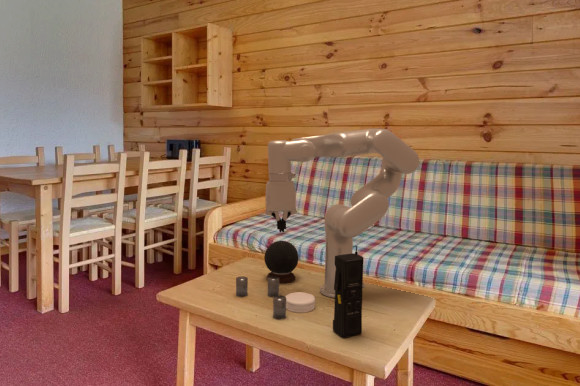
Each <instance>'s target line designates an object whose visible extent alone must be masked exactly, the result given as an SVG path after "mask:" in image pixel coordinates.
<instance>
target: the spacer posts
mask: <svg viewBox="0 0 580 386" xmlns="http://www.w3.org/2000/svg"><path fill="white" fill-rule="evenodd" d="M248 281H249V280H248V277H247V276H241V275H240V276H237V277H236V278H235V296H237V297H240V298H244V297H247V296H248V291H249V290H248V288H249V287H248V285H249V283H248ZM267 297H268V298H269V297H270V298H273V299H272V300H273V301H272V302H273V303H272V304H273V305H272V317H273V319H275V320H284V319H286V317H287V309H286V297H285V296H284V295H280V284H279V278H278V277H269V278H268V280H267Z"/></svg>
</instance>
